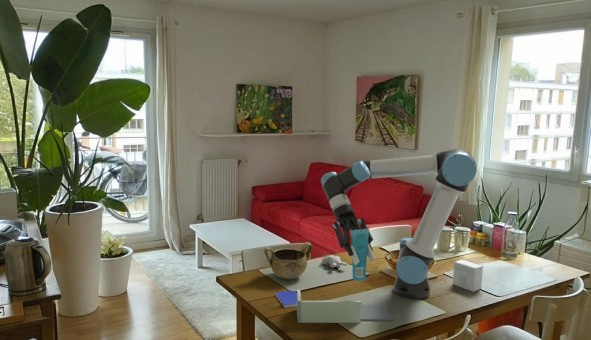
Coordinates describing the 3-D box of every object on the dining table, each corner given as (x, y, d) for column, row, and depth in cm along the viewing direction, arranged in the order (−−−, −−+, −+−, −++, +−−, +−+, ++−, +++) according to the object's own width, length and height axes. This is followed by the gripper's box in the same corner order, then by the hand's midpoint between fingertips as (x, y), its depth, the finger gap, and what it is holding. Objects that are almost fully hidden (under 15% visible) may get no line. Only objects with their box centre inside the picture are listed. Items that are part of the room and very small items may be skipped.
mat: (385, 306, 186) (385, 304, 186) (392, 320, 174) (392, 319, 174) (355, 306, 186) (355, 304, 186) (360, 320, 174) (360, 319, 174)
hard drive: (304, 302, 186) (293, 290, 198) (284, 305, 184) (275, 292, 195) (304, 306, 187) (293, 293, 198) (284, 308, 184) (275, 296, 195)
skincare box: (481, 288, 205) (483, 265, 203) (473, 292, 201) (475, 268, 199) (460, 281, 213) (462, 258, 211) (452, 284, 209) (453, 261, 207)
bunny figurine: (336, 252, 237) (349, 259, 223) (336, 262, 237) (349, 269, 223) (318, 254, 234) (330, 261, 220) (319, 264, 234) (331, 271, 220)
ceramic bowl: (304, 268, 226) (305, 237, 224) (318, 281, 210) (319, 248, 208) (259, 273, 219) (260, 242, 216) (270, 287, 203) (270, 253, 201)
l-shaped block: (355, 309, 183) (356, 289, 182) (360, 322, 172) (360, 302, 171) (296, 308, 183) (297, 289, 181) (297, 322, 172) (298, 302, 170)
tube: (363, 274, 181) (365, 226, 178) (370, 279, 177) (372, 230, 173) (347, 277, 178) (348, 228, 175) (353, 282, 174) (355, 232, 170)
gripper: (358, 210, 192) (381, 262, 180) (317, 216, 183) (338, 270, 171) (366, 200, 186) (390, 253, 174) (324, 205, 177) (347, 261, 166)
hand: (365, 261), depth 173 cm, fingers closed on tube, 6 cm apart
